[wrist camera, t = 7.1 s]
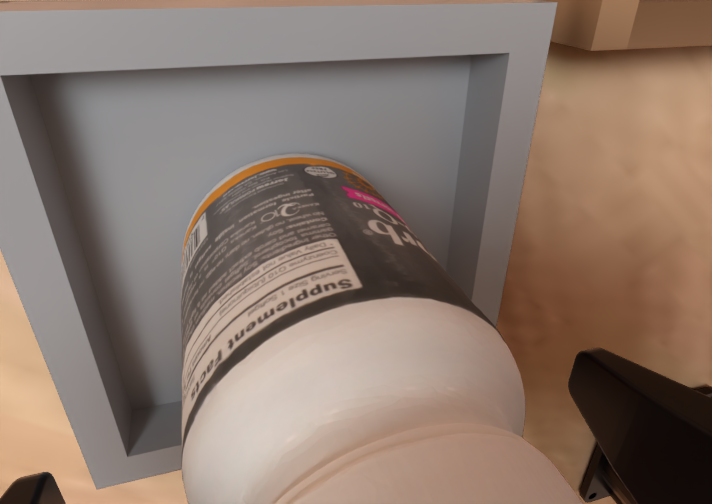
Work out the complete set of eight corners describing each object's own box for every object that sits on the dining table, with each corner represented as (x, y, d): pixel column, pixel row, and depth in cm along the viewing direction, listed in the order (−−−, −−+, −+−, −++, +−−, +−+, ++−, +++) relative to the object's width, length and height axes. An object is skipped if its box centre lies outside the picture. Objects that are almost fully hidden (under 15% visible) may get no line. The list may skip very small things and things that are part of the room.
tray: (452, 352, 19) (482, 397, 17) (106, 425, 16) (96, 489, 14) (502, -5, 13) (557, 2, 11) (-43, 1, 10) (-95, 12, 8)
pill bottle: (418, 247, 15) (696, 582, 7) (272, 359, 16) (376, 794, 8) (307, 98, 12) (578, 393, 4) (128, 243, 13) (39, 780, 4)
